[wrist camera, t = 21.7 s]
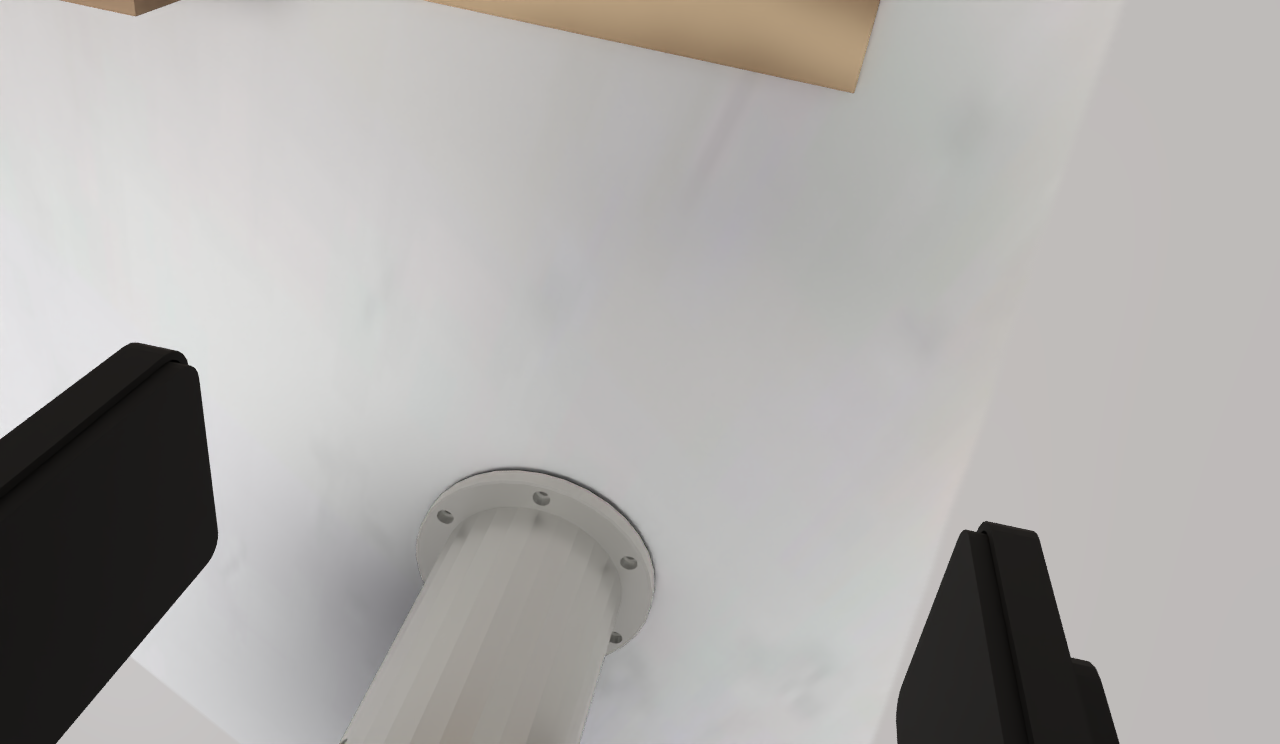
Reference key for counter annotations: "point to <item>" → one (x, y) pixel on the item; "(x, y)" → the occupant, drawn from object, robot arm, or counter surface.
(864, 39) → the lid
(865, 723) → the counter surface
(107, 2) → the brown wooden box
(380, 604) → the counter surface
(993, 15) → the counter surface
